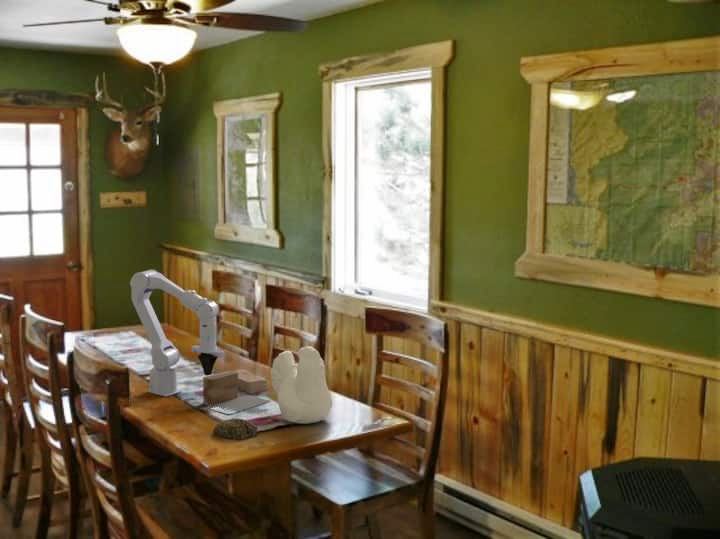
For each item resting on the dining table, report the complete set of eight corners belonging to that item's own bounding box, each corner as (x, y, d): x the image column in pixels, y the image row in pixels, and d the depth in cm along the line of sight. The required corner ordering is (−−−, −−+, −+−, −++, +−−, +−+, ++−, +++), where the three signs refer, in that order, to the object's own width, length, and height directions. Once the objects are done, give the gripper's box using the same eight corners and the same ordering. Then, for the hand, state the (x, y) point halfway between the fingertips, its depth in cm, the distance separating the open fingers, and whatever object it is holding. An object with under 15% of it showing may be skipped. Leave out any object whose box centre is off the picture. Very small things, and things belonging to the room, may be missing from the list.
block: (203, 403, 267) (203, 377, 266) (228, 395, 276) (228, 370, 275) (212, 405, 264) (212, 379, 263) (237, 397, 274) (237, 372, 273)
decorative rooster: (340, 424, 248) (342, 348, 244) (296, 432, 239) (298, 353, 236) (302, 403, 268) (304, 332, 265) (261, 410, 260) (261, 337, 257)
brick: (268, 390, 285) (268, 377, 284) (249, 394, 279) (249, 381, 279) (243, 380, 297) (243, 368, 296) (224, 384, 291) (224, 372, 291)
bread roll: (207, 435, 236) (207, 419, 235) (235, 424, 246) (235, 409, 245) (238, 444, 229) (238, 427, 228) (266, 433, 239) (266, 417, 238)
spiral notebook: (205, 408, 260) (205, 408, 260) (247, 395, 277) (247, 394, 277) (229, 415, 254) (229, 414, 254) (270, 401, 270) (270, 400, 270)
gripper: (231, 337, 270) (231, 375, 272) (201, 331, 278) (201, 368, 280) (216, 340, 264) (216, 380, 266) (186, 334, 273) (187, 372, 274)
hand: (207, 374), depth 273 cm, fingers closed
